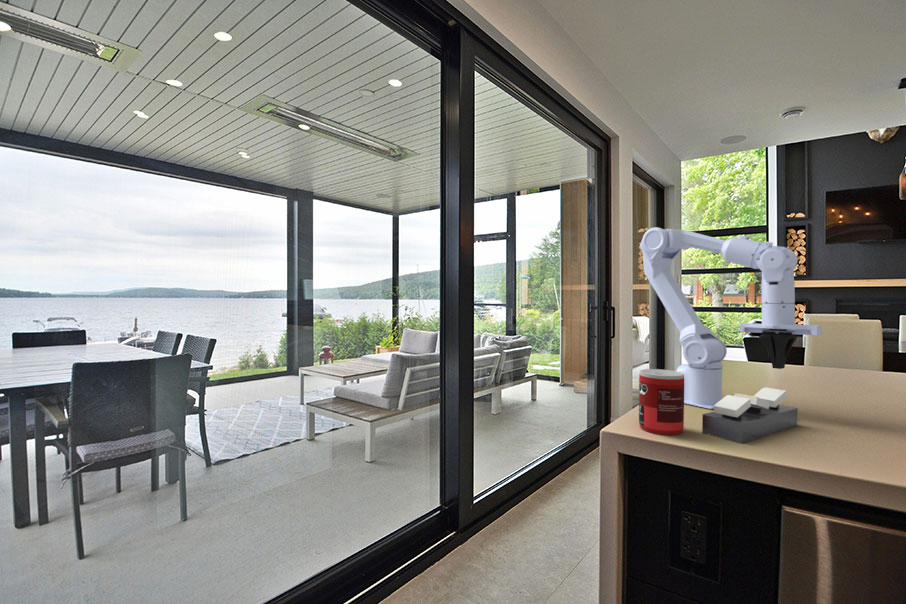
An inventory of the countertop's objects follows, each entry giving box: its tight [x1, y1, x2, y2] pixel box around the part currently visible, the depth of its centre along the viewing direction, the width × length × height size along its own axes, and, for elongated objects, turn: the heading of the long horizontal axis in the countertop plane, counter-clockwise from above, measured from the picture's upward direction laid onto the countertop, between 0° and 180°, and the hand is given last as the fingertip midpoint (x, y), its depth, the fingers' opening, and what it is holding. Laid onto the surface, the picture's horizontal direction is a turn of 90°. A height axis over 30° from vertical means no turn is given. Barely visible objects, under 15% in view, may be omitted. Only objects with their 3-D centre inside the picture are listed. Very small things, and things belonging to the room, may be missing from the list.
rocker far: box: [753, 386, 788, 407], centre depth 92 cm, size 4×5×1 cm
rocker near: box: [713, 394, 751, 417], centre depth 85 cm, size 4×5×1 cm
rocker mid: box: [733, 392, 770, 409], centre depth 88 cm, size 4×5×2 cm
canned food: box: [638, 368, 685, 436], centre depth 88 cm, size 8×8×11 cm
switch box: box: [701, 404, 799, 444], centre depth 90 cm, size 7×27×4 cm, turn 122°
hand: (778, 368), depth 97 cm, fingers closed
